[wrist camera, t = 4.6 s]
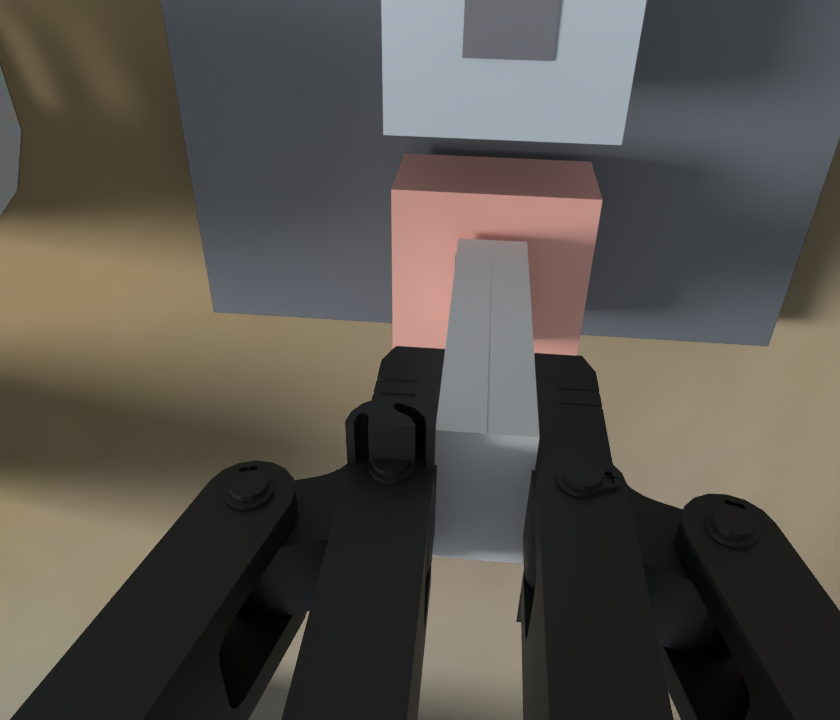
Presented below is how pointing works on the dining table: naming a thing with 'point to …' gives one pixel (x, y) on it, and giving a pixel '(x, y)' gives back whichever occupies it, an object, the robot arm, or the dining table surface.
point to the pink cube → (492, 220)
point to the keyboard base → (613, 164)
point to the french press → (8, 146)
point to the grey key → (509, 68)
